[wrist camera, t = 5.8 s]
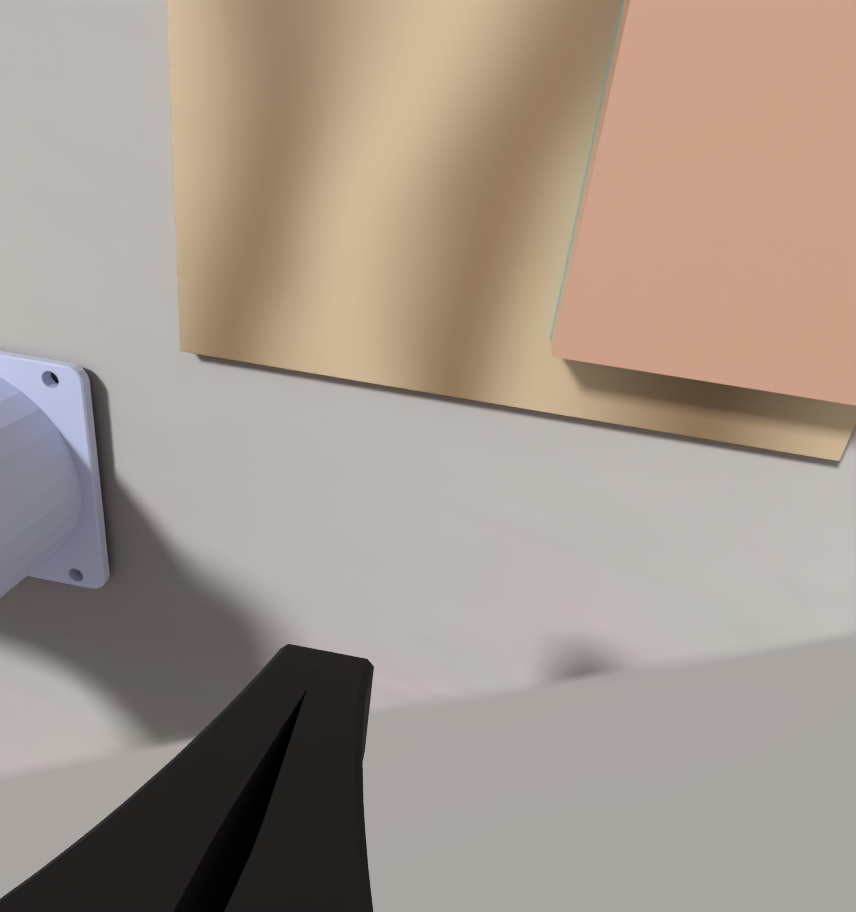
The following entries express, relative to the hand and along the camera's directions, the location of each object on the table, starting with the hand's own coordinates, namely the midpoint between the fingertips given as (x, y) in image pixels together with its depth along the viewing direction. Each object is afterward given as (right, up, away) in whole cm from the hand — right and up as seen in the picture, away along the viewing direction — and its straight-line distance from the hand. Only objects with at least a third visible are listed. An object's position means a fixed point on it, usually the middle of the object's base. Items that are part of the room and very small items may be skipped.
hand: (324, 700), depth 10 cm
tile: (+5, +10, +4) cm, 12 cm away
